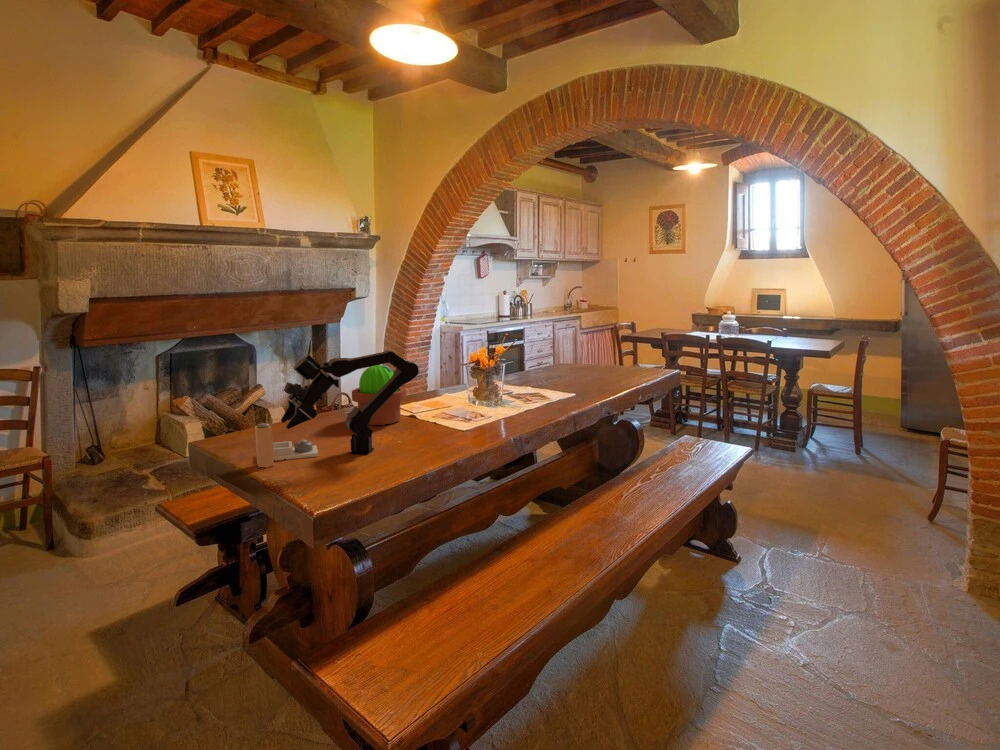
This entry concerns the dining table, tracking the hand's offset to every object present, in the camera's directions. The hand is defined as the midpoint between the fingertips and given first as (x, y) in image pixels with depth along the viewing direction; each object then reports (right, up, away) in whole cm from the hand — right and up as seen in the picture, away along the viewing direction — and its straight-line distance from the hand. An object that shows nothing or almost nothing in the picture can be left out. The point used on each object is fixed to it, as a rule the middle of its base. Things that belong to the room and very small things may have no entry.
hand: (284, 424), depth 192 cm
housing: (-2, -11, +10) cm, 15 cm away
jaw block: (-6, -13, -1) cm, 14 cm away
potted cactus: (+19, -3, +58) cm, 61 cm away
